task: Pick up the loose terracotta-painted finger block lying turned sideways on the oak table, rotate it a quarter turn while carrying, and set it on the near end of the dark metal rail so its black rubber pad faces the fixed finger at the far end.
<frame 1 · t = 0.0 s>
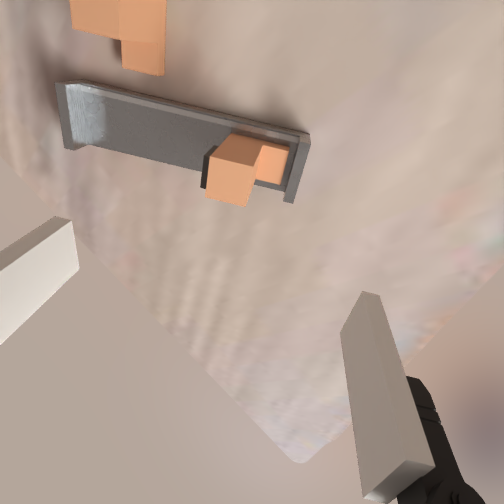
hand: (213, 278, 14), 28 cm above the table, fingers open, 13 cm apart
fixed finger: (244, 153, 36), resting on rail
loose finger: (147, 17, 32), on the table
rail: (193, 136, 38), on the table
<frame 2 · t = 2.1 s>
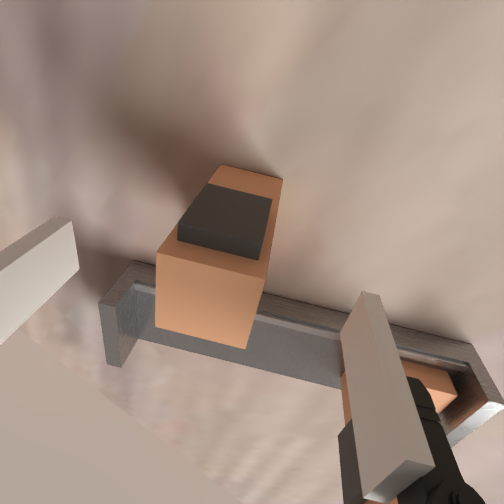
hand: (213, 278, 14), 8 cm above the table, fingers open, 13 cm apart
fixed finger: (373, 370, 24), resting on rail
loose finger: (246, 200, 20), on the table
rail: (290, 330, 26), on the table
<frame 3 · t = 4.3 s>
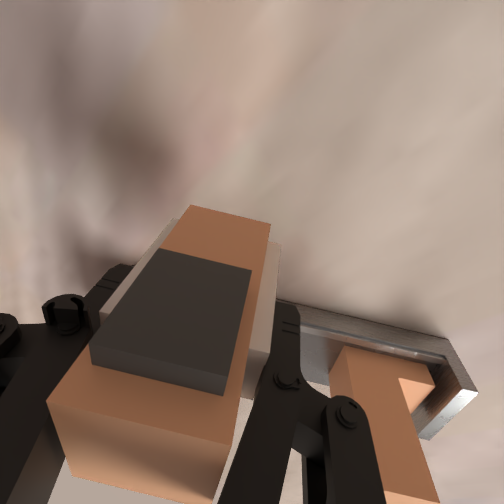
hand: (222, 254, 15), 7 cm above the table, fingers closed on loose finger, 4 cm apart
fixed finger: (358, 365, 26), resting on rail
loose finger: (224, 248, 16), point 7 cm above the table, touching gripper
rail: (280, 330, 28), on the table
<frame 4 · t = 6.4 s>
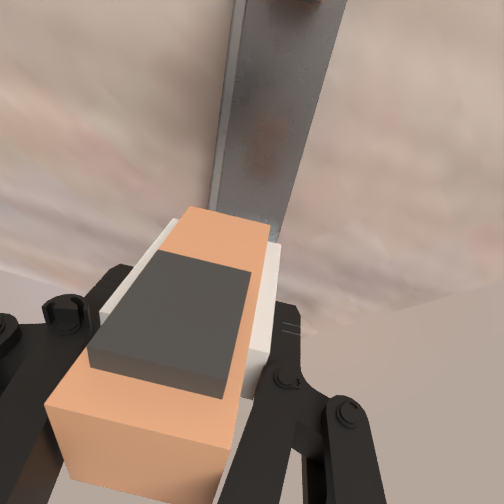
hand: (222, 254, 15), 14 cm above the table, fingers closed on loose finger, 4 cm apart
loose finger: (224, 249, 16), point 14 cm above the table, touching gripper
rail: (274, 81, 23), on the table
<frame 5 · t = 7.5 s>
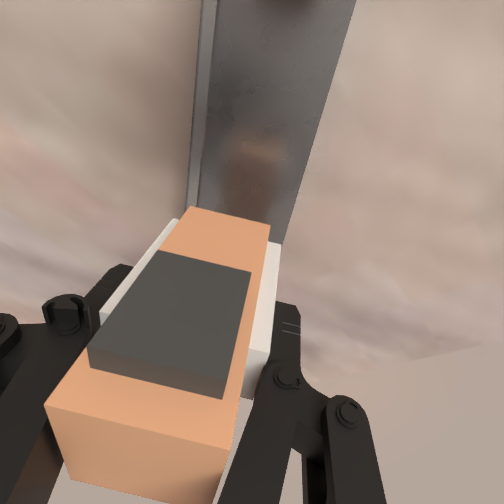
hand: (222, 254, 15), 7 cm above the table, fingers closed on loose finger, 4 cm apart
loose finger: (224, 249, 16), point 7 cm above the table, touching gripper
rail: (263, 87, 18), on the table
when the fingers open (3 cm above the table, at t = 8.6 s): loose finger stays where it is, resting on rail.
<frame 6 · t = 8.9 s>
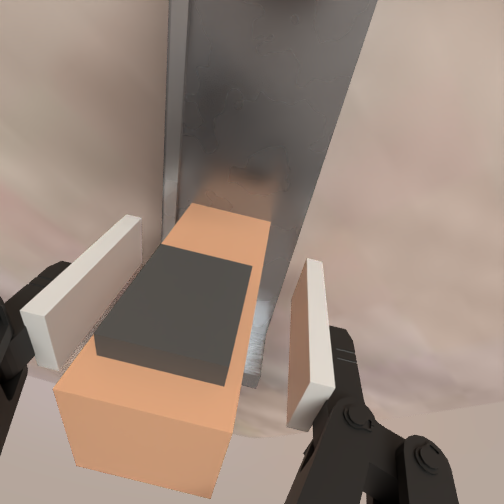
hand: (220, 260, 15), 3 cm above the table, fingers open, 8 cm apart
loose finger: (225, 245, 16), point 2 cm above the table, touching rail
rail: (256, 99, 14), on the table
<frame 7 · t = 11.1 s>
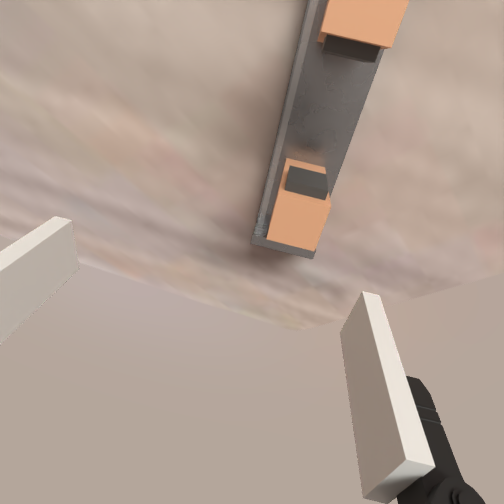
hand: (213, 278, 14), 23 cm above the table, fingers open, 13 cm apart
fixed finger: (349, 17, 24), resting on rail
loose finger: (300, 181, 32), point 2 cm above the table, touching rail
rail: (320, 108, 30), on the table
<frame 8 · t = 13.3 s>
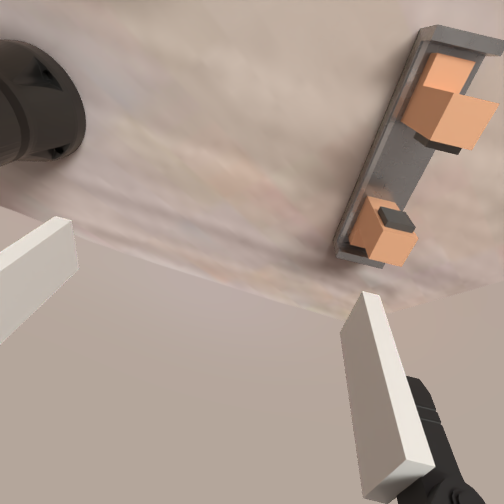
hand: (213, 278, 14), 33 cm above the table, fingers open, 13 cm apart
fixed finger: (425, 107, 35), resting on rail
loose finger: (375, 211, 43), point 2 cm above the table, touching rail
rail: (393, 160, 41), on the table
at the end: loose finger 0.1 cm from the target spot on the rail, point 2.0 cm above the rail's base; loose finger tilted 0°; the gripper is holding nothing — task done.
